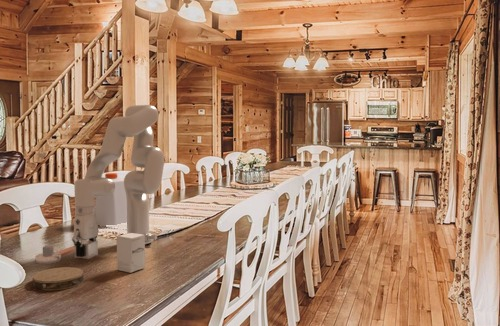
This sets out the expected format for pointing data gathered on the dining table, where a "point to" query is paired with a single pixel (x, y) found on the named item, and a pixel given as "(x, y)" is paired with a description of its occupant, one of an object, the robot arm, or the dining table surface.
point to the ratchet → (52, 255)
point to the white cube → (88, 249)
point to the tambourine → (58, 278)
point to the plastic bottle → (112, 204)
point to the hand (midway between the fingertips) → (86, 253)
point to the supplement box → (130, 252)
